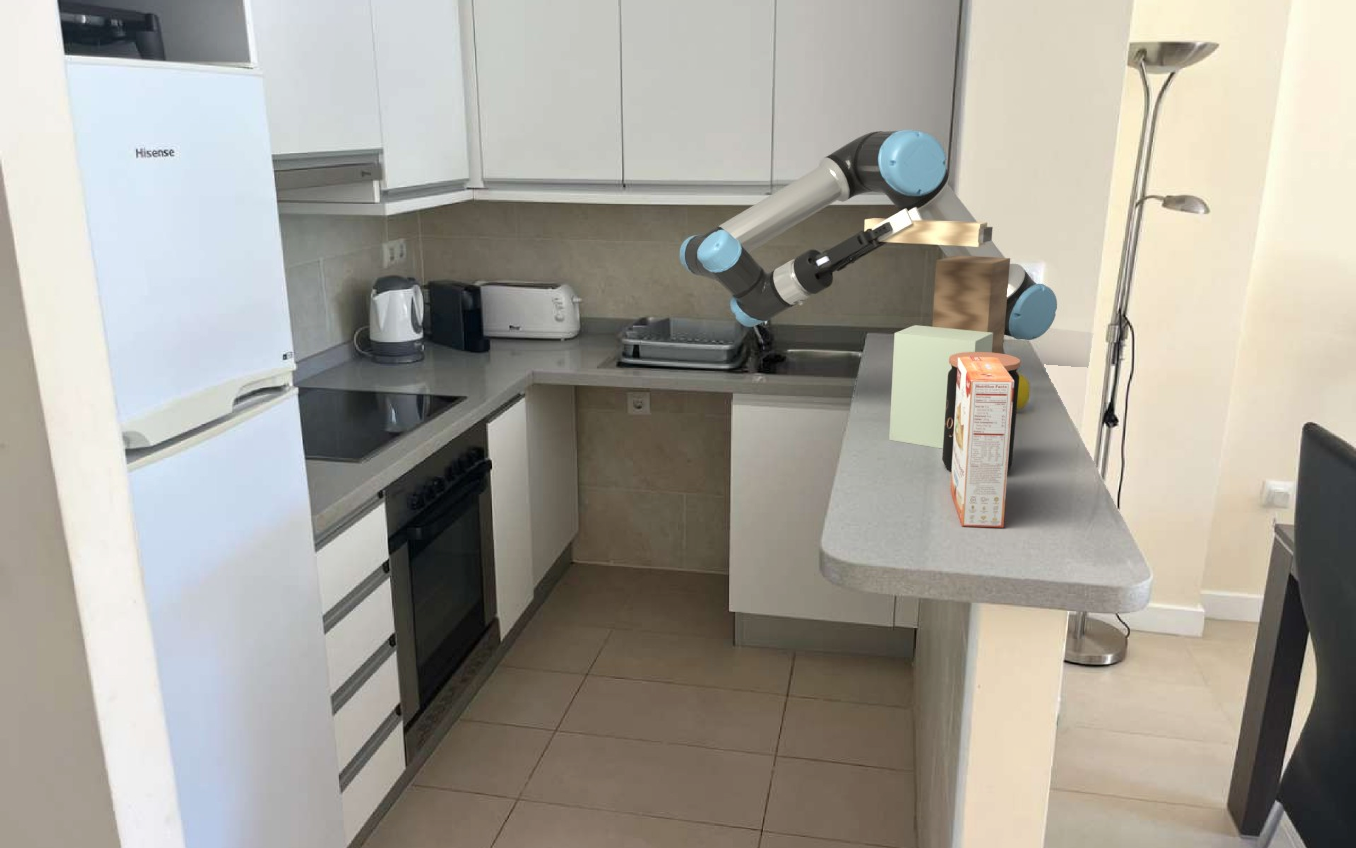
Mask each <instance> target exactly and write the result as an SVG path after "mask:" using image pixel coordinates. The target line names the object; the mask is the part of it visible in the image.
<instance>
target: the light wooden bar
mask: <svg viewBox="0 0 1356 848" xmlns="http://www.w3.org/2000/svg"><path fill="white" fill-rule="evenodd" d="M886 219H887V218H880V217H879V218H876V217H873V218H866V219H864V230H863V231H864V232H865V231H866V230H867V229H872V230H874V229H873V227H874V226H875V225H877V224H879V223H881V222H882V221H884V220H886ZM912 221H913V224H911V225H909V226H907V227H906V228H904V229H902V230H900V231H898V232H897V233H895V234H893V235H891V236H889V237H888V238H886V239H884V240H882V241H879V240H878V238H877V241H878V242H888V243H901V244H917V245H937V246H938V245H954V246H973V247H979V246H983V245H986V242H988V241H992V242H993V240H992V239H993V226H988V222H983V221H981V222H980V221H977V222H959V221H933V220H912Z"/></svg>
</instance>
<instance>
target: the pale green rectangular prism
mask: <svg viewBox="0 0 1356 848" xmlns="http://www.w3.org/2000/svg"><path fill="white" fill-rule="evenodd" d="M893 337H894V339H893V356H892V357H893V358H892V373H891V374H892V375H891V376H892V377H891V380H892V381H891V398H890V399H891V400H890V416H889V435H888V436H889V437H888V440H889V441H893V442H894V441H895V442H900V443H906V444H912V445H919V446H925V447H931V448H936V449H941V450H943V440H944V425H945V410H946V395H947V380H948V372H949V371H950V370H951V369H952V366H951V364H950V363H949V357H950V356H951V355H954V354H957V353H963V352H991V353H992V342H993V333H991V332H980V331H970V330H960V329H949V328H939V327H932V326H929V325H916V324H914V325H912V326H911V325H910V326H909V327H906V328H904V329H901V330H900V331H899V330H898V331H896V332H894V336H893Z"/></svg>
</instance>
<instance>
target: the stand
mask: <svg viewBox="0 0 1356 848" xmlns="http://www.w3.org/2000/svg"><path fill="white" fill-rule="evenodd" d="M1010 264H1011V258H1010V257H1005V258H997V257H979V256H961V255H955V256H951V257H944V258H941V259H937V260H936V263H935V275H934V278H935V279H934V280H935V281H934V292H933V293H934V294H933V309H932V310H933V311H932V325H931V327H939V328H949V329H960V330H970V331H980V332H991V333H993V342H992V353H1000V354H1003V348H1004V337H1005V335H1004V330H1005V317H1006V305H1007V292H1008V280H1009V268H1010Z"/></svg>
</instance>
